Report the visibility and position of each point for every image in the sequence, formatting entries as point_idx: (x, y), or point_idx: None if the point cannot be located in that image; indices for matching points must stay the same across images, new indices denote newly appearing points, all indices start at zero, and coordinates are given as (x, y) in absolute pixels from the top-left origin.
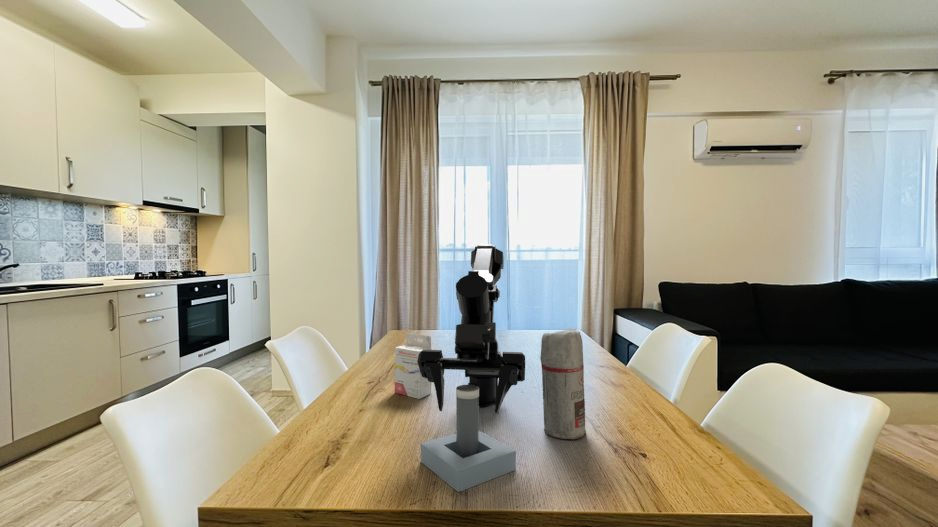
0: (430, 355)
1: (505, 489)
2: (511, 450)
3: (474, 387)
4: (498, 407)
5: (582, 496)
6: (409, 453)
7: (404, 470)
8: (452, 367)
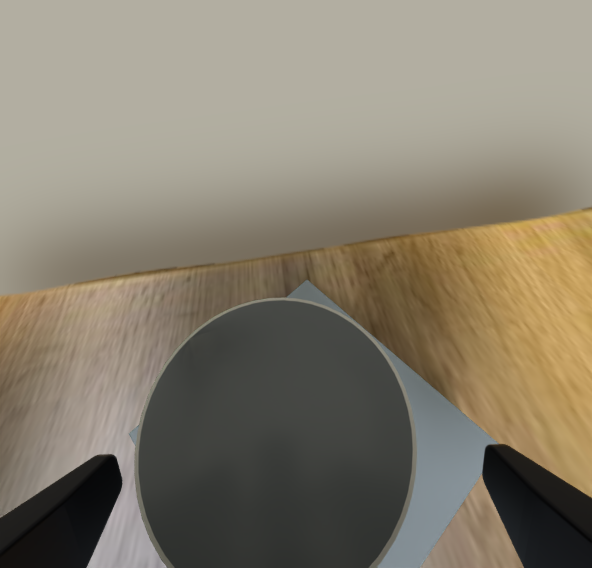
0: None
1: None
2: None
3: (188, 466)
4: (73, 472)
5: (44, 332)
6: None
7: (485, 379)
8: None
